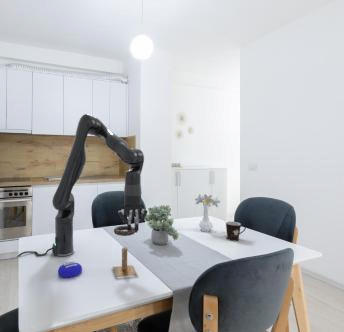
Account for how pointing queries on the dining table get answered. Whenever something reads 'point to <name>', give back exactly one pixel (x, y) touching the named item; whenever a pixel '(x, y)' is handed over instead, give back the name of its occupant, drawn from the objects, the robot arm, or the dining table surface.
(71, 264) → the decorative object
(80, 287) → the dining table surface
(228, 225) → the coffee mug
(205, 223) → the flower vase
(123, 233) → the ring
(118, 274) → the post
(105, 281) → the dining table surface
